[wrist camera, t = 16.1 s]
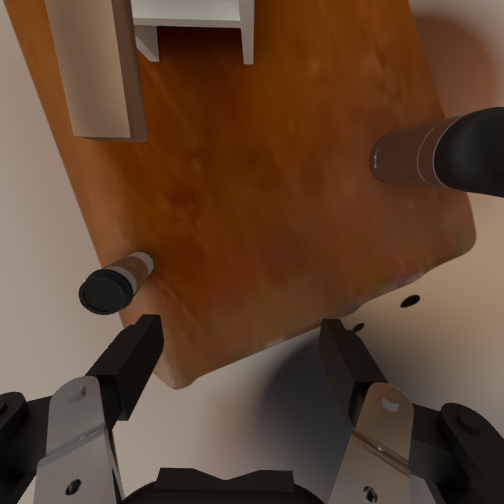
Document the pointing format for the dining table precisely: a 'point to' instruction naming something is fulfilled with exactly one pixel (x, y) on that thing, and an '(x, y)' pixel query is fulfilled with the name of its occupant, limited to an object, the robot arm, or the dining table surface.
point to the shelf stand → (191, 20)
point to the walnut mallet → (99, 68)
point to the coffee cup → (115, 284)
